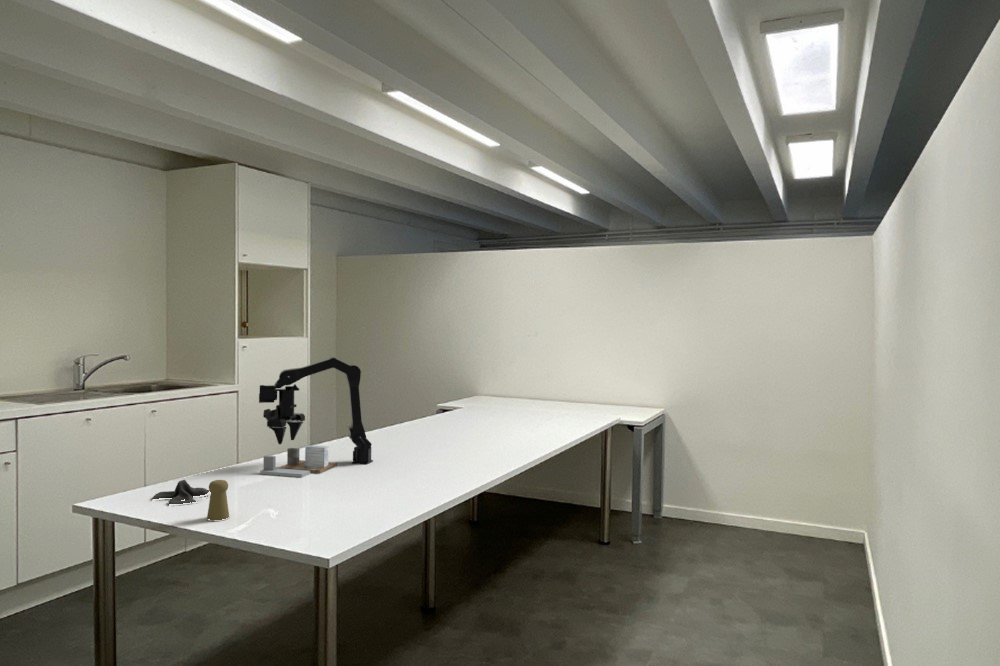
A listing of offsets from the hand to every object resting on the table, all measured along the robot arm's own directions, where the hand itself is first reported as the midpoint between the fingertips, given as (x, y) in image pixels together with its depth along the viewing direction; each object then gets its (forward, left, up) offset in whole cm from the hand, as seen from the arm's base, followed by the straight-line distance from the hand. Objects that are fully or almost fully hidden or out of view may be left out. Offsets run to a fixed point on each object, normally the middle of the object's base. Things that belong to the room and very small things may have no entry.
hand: (286, 442), depth 265 cm
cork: (-17, +66, -10) cm, 69 cm away
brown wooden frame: (-10, 0, -9) cm, 14 cm away
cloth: (+7, +48, -11) cm, 50 cm away
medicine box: (-13, 0, -10) cm, 16 cm away
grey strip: (-6, +12, -9) cm, 16 cm away
